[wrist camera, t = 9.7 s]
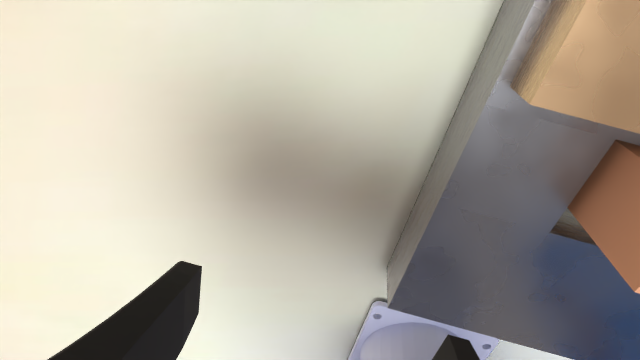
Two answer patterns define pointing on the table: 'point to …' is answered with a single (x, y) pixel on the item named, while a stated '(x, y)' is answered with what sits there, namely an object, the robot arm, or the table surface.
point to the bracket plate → (529, 186)
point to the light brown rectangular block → (614, 209)
